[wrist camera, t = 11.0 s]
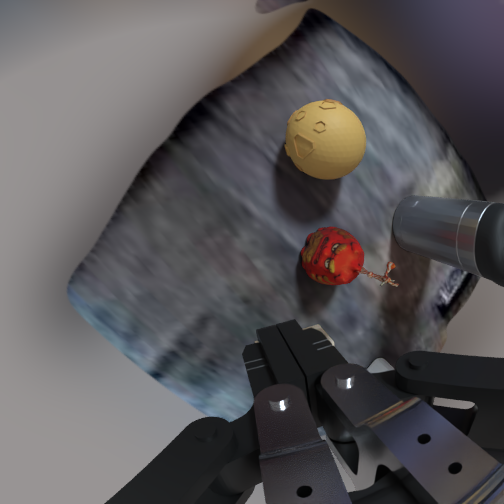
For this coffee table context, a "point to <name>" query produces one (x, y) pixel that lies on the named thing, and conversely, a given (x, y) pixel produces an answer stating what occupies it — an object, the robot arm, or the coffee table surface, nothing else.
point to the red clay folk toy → (336, 258)
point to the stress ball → (325, 139)
